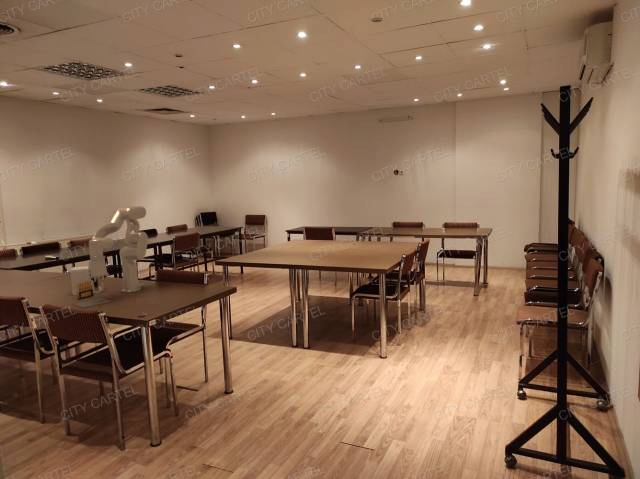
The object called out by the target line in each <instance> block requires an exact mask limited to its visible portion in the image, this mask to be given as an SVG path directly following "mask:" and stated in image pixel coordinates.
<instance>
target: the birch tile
mask: <svg viewBox="0 0 640 479" xmlns="http://www.w3.org/2000/svg"><path fill="white" fill-rule="evenodd" d="M96 281H97V288H96V287H94V290H95V291H100V292H103V291H105V286H104V285H105V282H104V283H103V278H96Z"/></svg>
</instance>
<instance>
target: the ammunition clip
mask: <svg viewBox="0 0 640 479" xmlns="http://www.w3.org/2000/svg"><path fill="white" fill-rule="evenodd" d="M77 291H78V292H77V295H76V296H77V300H78V301H80V300H84V299H88V298H91V297H95V296H94V294H93V289H92V284H91V280H89V281H88V280H87V283H86V280H85V286H84V281H82V283H81V281H80V286H79V282H78V283H77Z"/></svg>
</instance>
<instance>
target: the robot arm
mask: <svg viewBox="0 0 640 479" xmlns="http://www.w3.org/2000/svg"><path fill="white" fill-rule="evenodd" d="M146 216H147V210H146V208H145V207H144V206H142V205H141V206H140V205H137V206H131V205H130V206H124V207H117V208H116V209H115V210H114V211H113V213H112V215H111V216H110V218H109V220H108V222H107V223H105V225H103V226H101V227H100V228H99V229H97V230H96V231H95V233H94V234H93V236H92V238H91V239H89V240H88V248H89V258H90V260H88V265H87V266H88V277H87V278H89V279H91V280H92V281H93V283H94V287H96V288H97V281H96V277H97V276H100V278H103V283H104V284H105V282H104V280H105V279H106V278H107V277H109V275H110V274H109V272H108V269H107V265H106V261H105V258H106V255H104V250H110V249H112V248H113V247H114V245H115V241H114V239H112V238H111V237H107V236H109V235H111V234H114V233H116V232H118V231H120V229H121V228H122V226H123V224H124V223H125V222H126V230H125V235H124V243H125V244H126V245H127V246H123V247H122V248H120V250H119V257H120V260H121V268H122V282H123V288H122V289H121V292H123V293H135V292H138V291H142V287H145V285H146V283H145V282H144V283H143V282H141V283H140V282H139V277H138V266H137V265H138V264H137V263H136V261H141V260H144V258H145V257H146V254H147V248H148V242H149V237H148V235H147V233H146V232H145V231H140V229H141V227H140V226H141V225H140V222H139V220H140V219H143V218H145V217H146ZM91 276H92V277H93V278H92V277H91Z"/></svg>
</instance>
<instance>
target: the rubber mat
mask: <svg viewBox="0 0 640 479" xmlns="http://www.w3.org/2000/svg"><path fill="white" fill-rule="evenodd" d="M110 303H113V301H112V300H111V299H110V300H109V299H106V298H102V297H101V298H97V299H95V298H94V299H92V300H87V301H82V302H78V303H73V306H75V307H77V308H81V309H86V308H92V307H96V306H99V305H104V304H110Z"/></svg>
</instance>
